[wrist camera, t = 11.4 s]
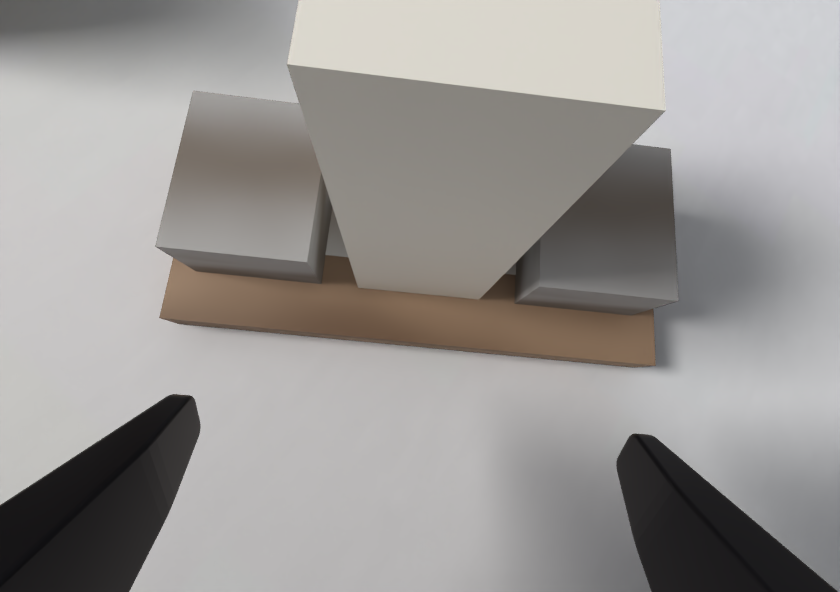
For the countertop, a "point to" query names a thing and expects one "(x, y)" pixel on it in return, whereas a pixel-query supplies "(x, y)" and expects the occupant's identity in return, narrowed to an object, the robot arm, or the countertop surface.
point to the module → (467, 124)
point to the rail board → (390, 310)
